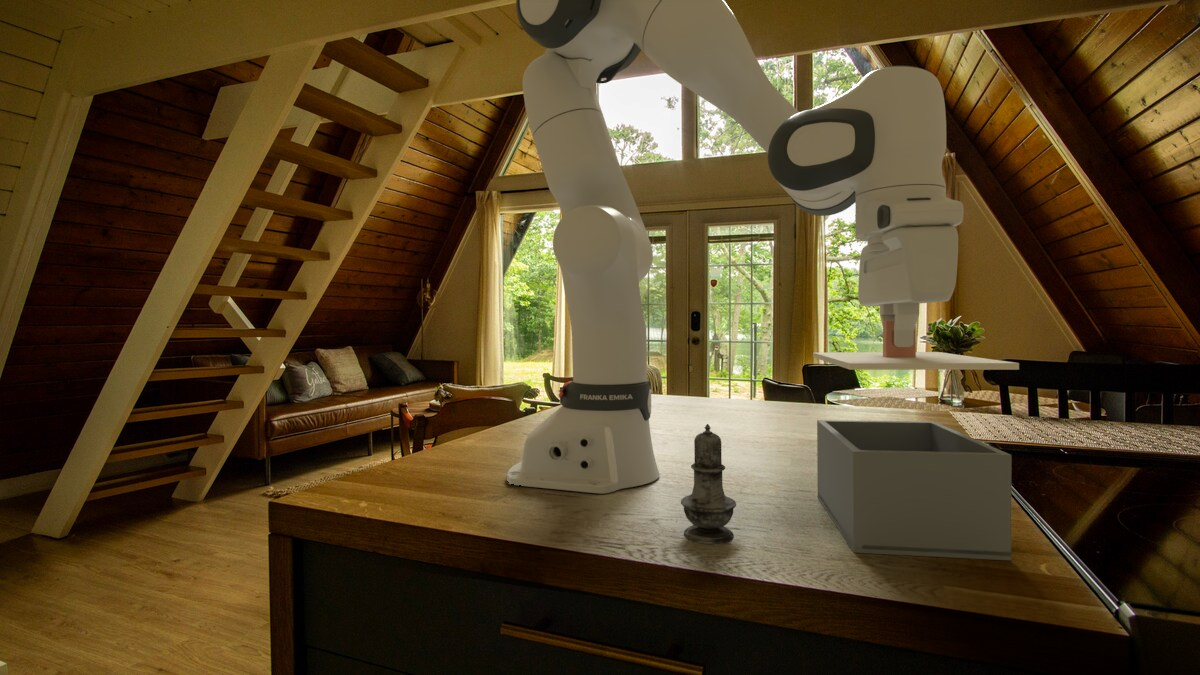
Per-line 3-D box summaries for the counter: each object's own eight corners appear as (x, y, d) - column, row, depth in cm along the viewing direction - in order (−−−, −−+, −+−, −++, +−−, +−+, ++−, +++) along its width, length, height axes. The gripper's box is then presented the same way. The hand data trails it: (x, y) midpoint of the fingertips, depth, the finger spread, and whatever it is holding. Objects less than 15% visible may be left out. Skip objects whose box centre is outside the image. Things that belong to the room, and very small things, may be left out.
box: (853, 552, 57) (853, 451, 57) (817, 497, 75) (817, 420, 75) (1011, 560, 55) (1011, 455, 54) (935, 501, 72) (935, 421, 72)
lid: (849, 369, 56) (849, 322, 56) (813, 357, 75) (812, 321, 75) (1018, 369, 54) (1019, 319, 54) (937, 356, 72) (937, 319, 72)
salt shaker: (725, 549, 58) (724, 430, 58) (672, 538, 62) (670, 426, 61) (744, 531, 63) (743, 421, 63) (693, 521, 67) (692, 417, 66)
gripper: (845, 235, 75) (845, 342, 75) (899, 203, 54) (897, 351, 55) (898, 233, 73) (897, 342, 74) (972, 201, 53) (971, 351, 54)
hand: (898, 346), depth 64 cm, fingers closed on lid
